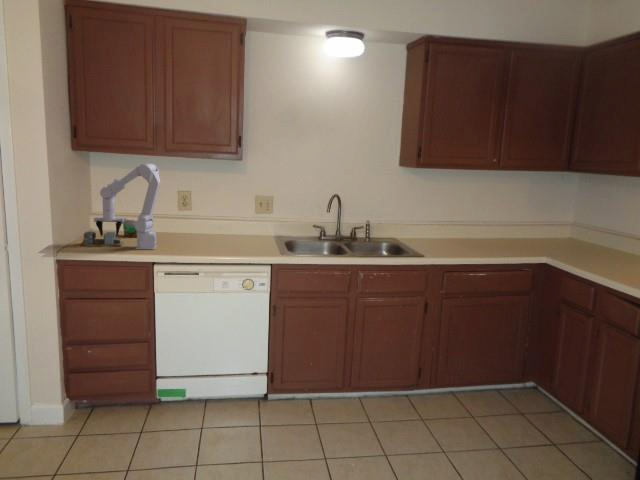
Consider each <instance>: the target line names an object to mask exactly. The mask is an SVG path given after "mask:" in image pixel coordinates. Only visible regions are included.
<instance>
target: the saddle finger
mask: <svg viewBox="0 0 640 480" xmlns="http://www.w3.org/2000/svg"><path fill="white" fill-rule="evenodd" d="M103 239H105V244H110V245H113V240H114V239H116V231H106V232H105V233H103Z"/></svg>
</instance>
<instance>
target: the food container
mask: <svg viewBox="0 0 640 480" xmlns="http://www.w3.org/2000/svg"><path fill="white" fill-rule="evenodd" d="M136 221H137V220H134V219H133V220H132V219H131V220H129V219H127V217H126V218H125V217H124V222H123V223H122V224H121V225H123V226H122V227H123V236H124V238H126V237H127V238H126V239H137V230H136V229H135V222H136Z"/></svg>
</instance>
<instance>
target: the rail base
mask: <svg viewBox="0 0 640 480" xmlns="http://www.w3.org/2000/svg"><path fill="white" fill-rule="evenodd" d="M96 234H97V233H96V231H92V230H91V231H88V230H87V231H85V232H84V233H83V239H82V242H81V243H79V247H99V248H100V247H103V248H105V247H108V248H109V247H110V248H111V247H112V248H113V247H114V248H117V247H118V248H121V247H122V246H123V245H124V243H125V242H124V241H121V239H119V238H118V239H117V238H115V239H114V240H113V245H110V244H105V239H104V238H97V235H96Z"/></svg>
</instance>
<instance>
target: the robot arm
mask: <svg viewBox="0 0 640 480" xmlns="http://www.w3.org/2000/svg"><path fill="white" fill-rule="evenodd" d="M159 172H160V170H159V168H158V166H157V165H156V164H154V163H151V162H150V163H143V164H140V165H138V166H136V167H135V168H133V169H132V170H131V171H130V172H129V173H127V174H126V175H125V176H124V177H122V178H115V179H113V182H111V183H109V184H107V186H103V187H102V188H101V189H100V191H99V193H100V196H101V199H102V217H93V222H94V223H95V225H96V227H97V229H98V231H99V234H100V236H101V237H102V236H104V231H103V224H104V223H115V229H116V230H115V237H118V236H119V232H120V229H121V227H122V225H123V224H122V223H123V222H124V218H125V217H124V218H123V217H116V210H115V207H116V206H115V204H116V203H115V198H116V196H117V194H119V193H120V192H122V191H123V190H124V189H126V188H127V184H128V183H130V182H132V181H133V180H135V179H136V178H138V177H142V179H144V180H145V181H146V182H147V184H148V187H147V190H146V193H145V198H144V201H143V206H142V210H141V213H140V214H139V215H138V217H137V220H135V221H136V222H135V229H136V230H137V238H136V247H135V250H155V249H156V248H157V232H156V231H153V230H152V228H153V227H154V215H153V213H154V209H155V205H156V201H157V199H158V195H159V194H158V193H159V189H160V186H161V179H160V175H159Z"/></svg>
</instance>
